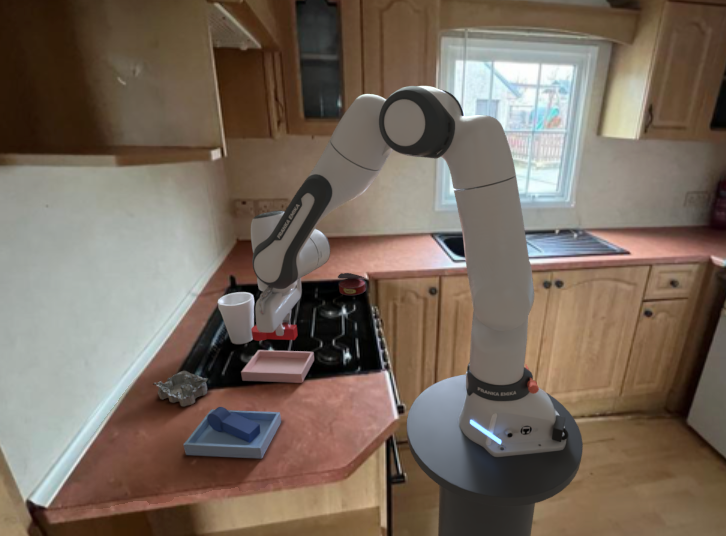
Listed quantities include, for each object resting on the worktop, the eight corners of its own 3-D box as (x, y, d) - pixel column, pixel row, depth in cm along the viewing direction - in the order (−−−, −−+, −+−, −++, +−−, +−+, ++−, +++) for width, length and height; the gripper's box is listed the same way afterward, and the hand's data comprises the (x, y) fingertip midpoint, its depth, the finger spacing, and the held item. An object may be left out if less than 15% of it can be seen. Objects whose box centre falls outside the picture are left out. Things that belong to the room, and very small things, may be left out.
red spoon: (299, 333, 105) (297, 322, 104) (293, 342, 100) (291, 331, 99) (257, 331, 105) (255, 321, 104) (249, 340, 101) (247, 329, 100)
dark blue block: (250, 446, 82) (260, 436, 84) (248, 430, 80) (259, 420, 83) (208, 427, 85) (219, 418, 88) (206, 410, 84) (217, 401, 86)
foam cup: (220, 338, 122) (213, 298, 117) (251, 327, 128) (245, 289, 123) (232, 350, 115) (225, 308, 111) (264, 339, 121) (258, 299, 116)
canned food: (339, 302, 155) (328, 279, 154) (359, 292, 162) (348, 269, 161) (355, 297, 147) (343, 272, 146) (375, 286, 154) (363, 262, 153)
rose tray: (314, 360, 111) (313, 351, 110) (302, 383, 101) (301, 374, 100) (259, 358, 112) (258, 349, 111) (242, 380, 102) (240, 371, 101)
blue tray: (281, 421, 88) (280, 412, 87) (262, 458, 79) (260, 448, 78) (213, 418, 89) (211, 409, 88) (185, 455, 80) (183, 444, 79)
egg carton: (154, 397, 96) (150, 383, 95) (183, 380, 102) (179, 366, 101) (185, 410, 92) (181, 394, 90) (213, 390, 98) (210, 376, 97)
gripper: (273, 297, 87) (280, 353, 92) (303, 264, 106) (308, 312, 111) (244, 296, 88) (253, 352, 93) (279, 264, 107) (285, 312, 112)
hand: (283, 330), depth 102 cm, fingers closed on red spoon, 2 cm apart
